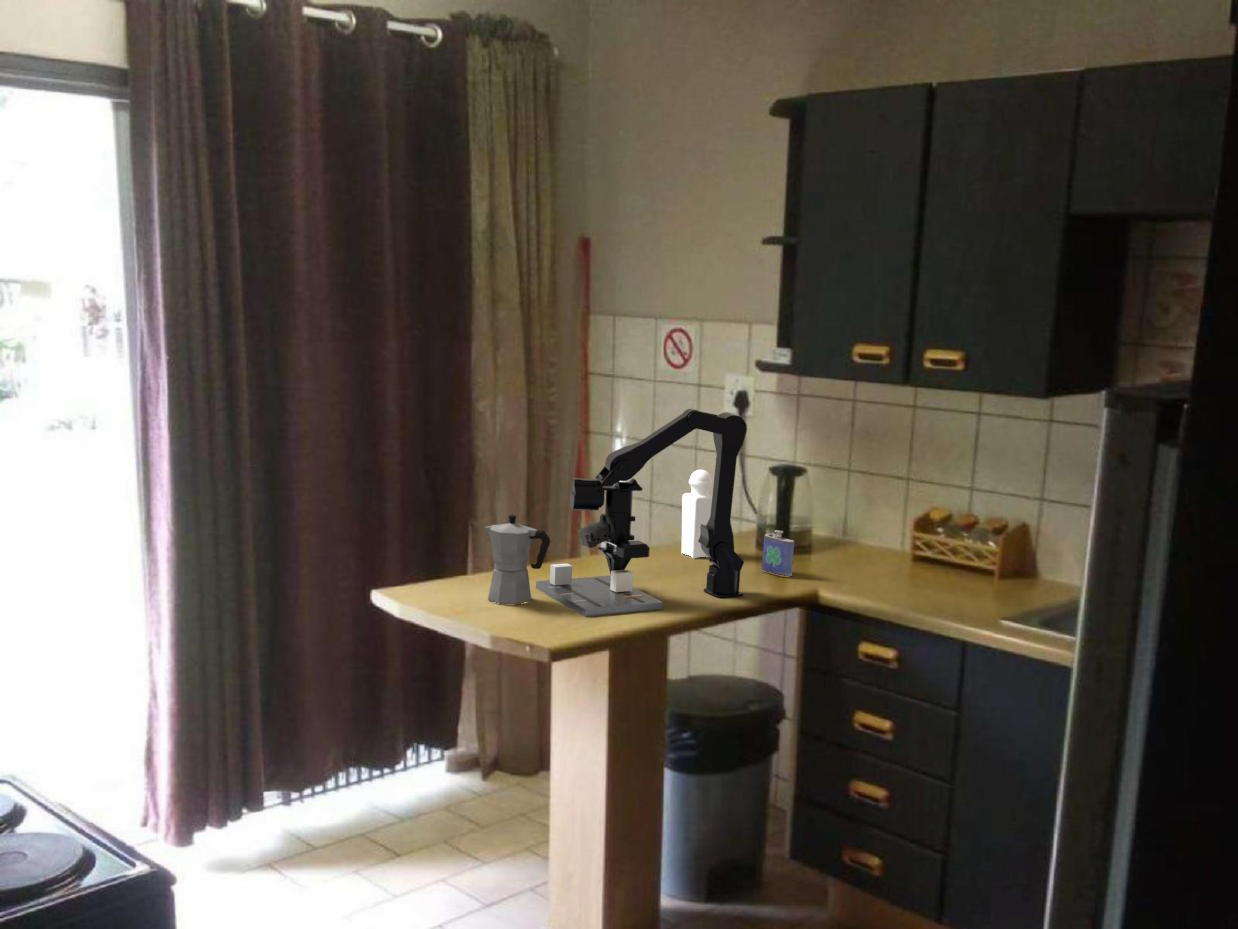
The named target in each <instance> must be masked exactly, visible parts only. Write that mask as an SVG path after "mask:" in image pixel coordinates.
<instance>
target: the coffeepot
mask: <svg viewBox="0 0 1238 929" xmlns="http://www.w3.org/2000/svg"><path fill="white" fill-rule="evenodd" d="M508 519H509V520H508V521H509V522H508V523H502V524H492V525H487V526H484V527H483V529H484V530H485V531H486V533H487V534H488V537H489V538H490V543H491V545H490V546H491V552H492V554H491V555H492V561H494V569H493V572H492V575H491V576H492V577H491V582H490V586H489V592H488V597H487V600H489V601H490V602H491V603H493V602H496V603H499V604H498V605H502V604H521V603H524V602H528V603H530V602H531V599H532V594H531V587H530V577H529V570H528V568H527V567H528V561H529V559H530V554H531V553H530V552H531V546H532V542H533V540H537V539H538V540H539V539H540V540H541V544H540V546H539V552H538V554H537V555H536V562H535V563H530V567H531V569H533V570H534V569H535V570H540V569H541V568H542V565H543V563H544V560H545V558H546V555H547V552H548V549H549V546H550V544H551V540H550V539H551V538H550V537H549V535H548V534H547V533H546V531H545V530H544V529H536V528H534V527H530V526H526V525H523V524H518V523H516V520H517V515H515V514H509V515H508ZM529 601H530V602H529ZM496 603H495V604H496ZM521 605H522V604H521Z"/></svg>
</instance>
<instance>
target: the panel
mask: <svg viewBox="0 0 1238 929" xmlns="http://www.w3.org/2000/svg"><path fill="white" fill-rule="evenodd" d="M610 584H611V575H599V576H589V577H588V576H587V577H574V578H573V577H572V584H567V585H553V584H551V583H550V579H547V580H537V581H535V589H536V590H538V589H539V590H538V591H540V592H542V593H543V592H544V594H545V595H547V596H548V597H550V596H551V597H550V598H552V599H554V600H555V599H556V601H557V602H559V603H561V604H562V605H564V606H566V607H567V606H568V608H569V609H571V610H573V611H575V612H576V613H578V614H579V615H581V616H583V617H587V616H588V617H596V616H597V617H598V616H606V615H608V616H609V615H617V614H618V613H620V614H628V613H639V612H648V611H658V610H661V611H662V610H663V609H664V601H662V600H661V599H657V598H655V597H654V596H652V595H650V594H647V593H646V592H644V591H641V590H640V589H638V588H635V587H632V591H623V592H614V591H613V590H611V589H610ZM588 617H587V618H588Z"/></svg>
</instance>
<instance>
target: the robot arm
mask: <svg viewBox="0 0 1238 929" xmlns="http://www.w3.org/2000/svg"><path fill="white" fill-rule="evenodd" d="M696 429H697V430H701V431H705V432H709V433H712V435H713V444H714V448H715V452H716V453H715V454H716V458H715V466H714V475H713V476H714V477H713V478H714V479H713V484H712V485H713V487H712V494H711V495H712V505H711V515H710V519H709V521H708V523H707V525H703V524H701V525H700V538H699V540H698V542H699V543H701V548H702V550H703V552H704V553H705V554H706V555H707V556H708V557H707V558H708V561H709V562H710V563H712V564H709V566H708V567H709V568H708V572H707V575H706V587H705V588H703V591H704V592H706V593H707V594H710V595H712V596H714V597H717V598H729V597H730V598H732V597H740V596H741V597H742V596H744V592H742V591H740V584H741V583H740V582H741V570H742V568H743V566H744V564H745V562H744V560H743V558H741V557H740V555H739V554H738V553H737V552H736V551H735V538H734V533H733V527H732V522H731V519H732V518H731V516H732V509H733V508H732V507H733V498H734V490H735V489H734V488H735V480H736V469H737V468H736V467H737V460H738V456H739V453H740V451H741V449H742V447H743V446H744V443H745V439H746V436H747V430H748V426H747V423H746V421H745V420H744V418H743V417H741V416H740V415H737V414H734V413H731V412H722V413H719V414H718V415H717V414H714V413H709V412H705V411H699V410H697V409H693V408H687V409H686V410H684V411H683V413H682V414H680V415H678V416H677V417H675V418H674V419H672V420H671V421H669V422H667V423H666V424H665V425H663V426H661V427H659V428H657V430H655V431H654V432H652V433H650V434H649V435H648V436H646V437H644V438H643V439H641V440H639V441H638V442H635V443H633V444H630V445H626V446H623V447H621V448H619V449H616V450H614V451H612V452H610V453H609V454H608V455H607V456H606V458H605V462H604V464H605V465H604V466H603V468H602V469H601V470H600V471H599V472H598V474H597V475H596V476H595V477H594V478H581V477H573V478H572V485H571V489H570V492H569V505H570V509H571V511H599V509H600V508H602V507H603V506H604V505H605V508H604V509H605V510H604V513H601V514H600V516H599V521H597V522H594V523H592V524H589V525H587V526H584V527H583V528H580V529H578V535H579V538H580V542H581V544H582V545H583V546H586V547H587V548H588V549H592V548H595V547H597V546H598V545H600V546H599V547H597V550H598V551H600V552H601V554H603V555H604V556H605V559H606V562H607V566H608V570H609V574H610V575H611V571H618V570H626V568H627V566H628V565H629V563H630V561H631V560H632V559H640V558H641V559H642V558H649V557H650V549H651V548H650V547H649V545H647V543H646V542H643V541H641V540H635V535H633V534H631V533H632V522H636V516H634V515H632V513H633V496H634V494H633V493H634V492H635V491H637V492H641V491H643V487H642V486H641V485H640V484H639V483H638V482H637V479H635V478H634V477H635V476H636V475H637V474H638V473H640V471H641V470H642V469H643V468H644V467H645V465H646V464H647V463H648V462H649V461H650V460H651V459H652V458H653V457H654V456H656V455H659V454H660V453H661V452H662V451H664V450H665V449H667V448H669V447H670V446H671V445H673V444H674V443H676V442H678V441H680V439H682V438H683V437H685V436H687V435H689V434H690V433H691V432H693V431H694V430H696Z"/></svg>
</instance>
